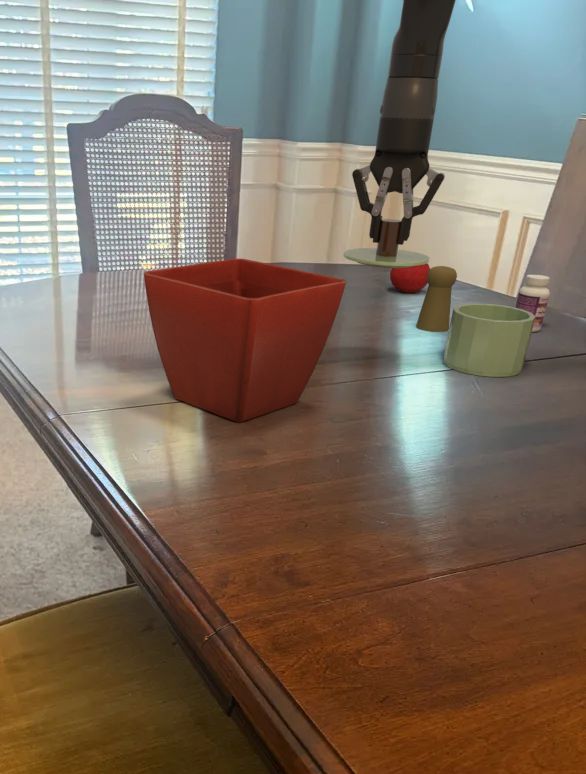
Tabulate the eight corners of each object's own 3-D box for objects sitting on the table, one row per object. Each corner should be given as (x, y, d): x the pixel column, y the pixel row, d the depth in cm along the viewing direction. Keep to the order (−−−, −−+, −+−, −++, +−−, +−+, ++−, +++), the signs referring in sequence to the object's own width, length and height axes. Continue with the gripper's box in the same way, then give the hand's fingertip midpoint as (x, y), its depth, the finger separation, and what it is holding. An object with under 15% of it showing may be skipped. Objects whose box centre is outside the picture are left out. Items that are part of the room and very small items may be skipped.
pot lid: (381, 252, 128) (386, 213, 125) (445, 265, 119) (453, 223, 116) (325, 259, 121) (330, 217, 118) (389, 273, 112) (396, 228, 109)
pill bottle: (537, 334, 143) (551, 280, 138) (507, 329, 145) (520, 276, 141) (542, 328, 147) (556, 276, 142) (513, 324, 149) (526, 272, 145)
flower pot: (334, 404, 107) (350, 278, 98) (242, 438, 95) (252, 298, 87) (232, 371, 118) (239, 256, 110) (139, 398, 107) (139, 272, 98)
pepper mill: (453, 332, 143) (465, 270, 137) (420, 331, 143) (431, 269, 137) (443, 324, 148) (454, 264, 142) (412, 323, 148) (422, 263, 142)
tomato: (384, 286, 177) (389, 250, 173) (422, 288, 177) (428, 251, 173) (391, 295, 170) (397, 257, 166) (431, 296, 169) (438, 258, 166)
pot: (472, 351, 132) (483, 300, 128) (536, 369, 124) (550, 315, 119) (428, 361, 126) (438, 309, 121) (492, 381, 117) (505, 325, 113)
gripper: (459, 116, 111) (436, 243, 120) (361, 113, 115) (346, 236, 124) (457, 117, 105) (433, 250, 113) (353, 113, 109) (338, 242, 117)
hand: (388, 242), depth 118 cm, fingers closed on pot lid, 3 cm apart
